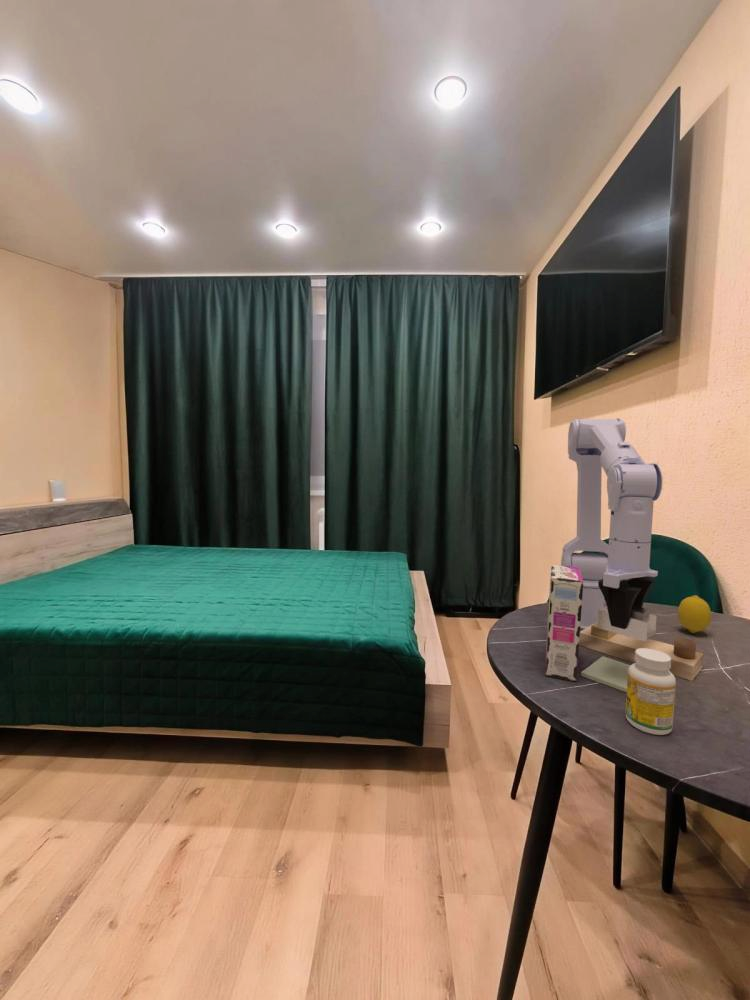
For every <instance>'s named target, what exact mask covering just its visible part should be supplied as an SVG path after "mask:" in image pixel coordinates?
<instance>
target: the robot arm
mask: <svg viewBox="0 0 750 1000" xmlns="http://www.w3.org/2000/svg"><path fill="white" fill-rule="evenodd" d="M626 433H627V426H626V423H625V421H624V420H623V419H622V417H617V418H598V419H597V418H595V419H594V418H593V419H591V418H590V419H589V418H587V419H586V418H581V419H578V418H574V419H572V421H571V422H570V423H569V426H568V435H567V438H568V439H567V454H568V459H569V460H571V461H573V462H575V464H576V470H577V498H576V501H577V502H576V503H577V504H576V507H577V508H576V537H574V538H573V539H571V540H570V541H568V542H566V543H565V544H564V546H563V547H562V555H561V559H560V566H570V567H578V568H580V572H581V576H582V579H583V596H582V611H581V625H580V629H581V630H584V629H585V628H587V627H589V626H591V625H592V624H595V623H597V622H598V612H599V610H600V609H602V608H603V607H605V604H606V606H607V609H608V614H609V619H610V623H611V626H614V627H617V628H621V629H626V628H627V626H628V623H629V619H630V614H631V610H632V606H633V605H634V606H638V607H642V608H643V606H644V603H645V599H646V598H647V596H648V593H649V592H650V590H651V588H652V587H653V585H654V584H655V583H656V577H658V574H659V571H658V570H654V569H651V567H650V562H651V561H650V559H651V546H652V545H651V544H652V534H653V533H652V531H653V530H652V529H653V517H654V502H655V501H657V500H658V499H659V497H660V496H661V494H662V493H661V492H662V490H663V474H662V473H663V472H662V470H661V467H660V466H659V464H658V463H656V462H655V463H650V462H648V463H645V461H644V459H643V458H642V457H641V455H640V454H639V453H638V451H637V450H636V448H635V447H634V446H633V445H632V444H630V442H629V441H625V440H626V435H627V434H626ZM602 469H603V471H604V473H605V475H606V476H607V479H606V492H607V497H608V498H607V507H608V510H610V517H609V518H610V520H609V521H610V522H609V534H608V535H609V538H608V543H606V542H605V541H604V540H602V539H601V538H602V536H601V535H602V475H603V473H602V472H603V471H602ZM580 551H581V552H580ZM586 552H587V553H586ZM588 552H589V553H588ZM590 552H597V553H590Z"/></svg>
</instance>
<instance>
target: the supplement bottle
mask: <svg viewBox="0 0 750 1000" xmlns="http://www.w3.org/2000/svg"><path fill="white" fill-rule="evenodd" d="M635 662H636V663H634V662H633V663H632V664H630V665H631V666H630V667H629V669H628V682H627V692H626V696H625V697H626V699H625V701H626V702H625V718H626V720H627V721H628V723H630V724H631V726H633V727H635V728H636V729H638V730H639V731H641V732H644V733H647V734H650V735H655V736H656V735H657V736H665V735H668V734H670V733H671V732H672V731H673V727H674V726H673V725H674V713H675V700H676V699H675V698H676V687H677V686H676V685H677V680H676V676H675V675H673V674H672V673H671V672H670V671H669V670H670V668H671V658H670V656H668V655H667V654H665V653H663V652H660V651H657V650H653V649H647V648H639V649H636V651H635Z"/></svg>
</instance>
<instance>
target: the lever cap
mask: <svg viewBox="0 0 750 1000" xmlns="http://www.w3.org/2000/svg"><path fill="white" fill-rule="evenodd" d="M650 610H651V609H650V608H645V607H643V606H642V607H638V606H634V605H633V606H632V610H631V614H630V619H629V623H628V626H627V628H626V629H621V628H617V627H614V626H611V623H610V619H609V614H608V609H607V605H606V606H605V605H604V607H603V608H602V609H600V610H599V612H598V628H599V629H603V630H607V631H610V632H614V633H617V634H621V635H624V636H628V637H631V638H635V639H638V640H642V641H645V642H646V641H648V640H649V639H652V638H653V637H654V636H655V635H656V631H657V630H656V629H657V617H658V616H657V615H655V614H651V613H650Z"/></svg>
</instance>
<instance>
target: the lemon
mask: <svg viewBox="0 0 750 1000" xmlns="http://www.w3.org/2000/svg"><path fill="white" fill-rule="evenodd" d="M677 618H678V621H679V623H680V625H681V626H683V628H685V629H687V630H688V631H689V632H690V633H691V634H696V633H697V632H702V631H705V630H706V629H707V628H708V627H709V626H710V624H711V621H712V611H711V608H710V605H709V603H708V602H707V601H706V600H704V599H703V598H701V597H700V596H698V595H692V596H687V597H686V598H684V599H682V600H681V601H680V603H679V606H678V609H677Z"/></svg>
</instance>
